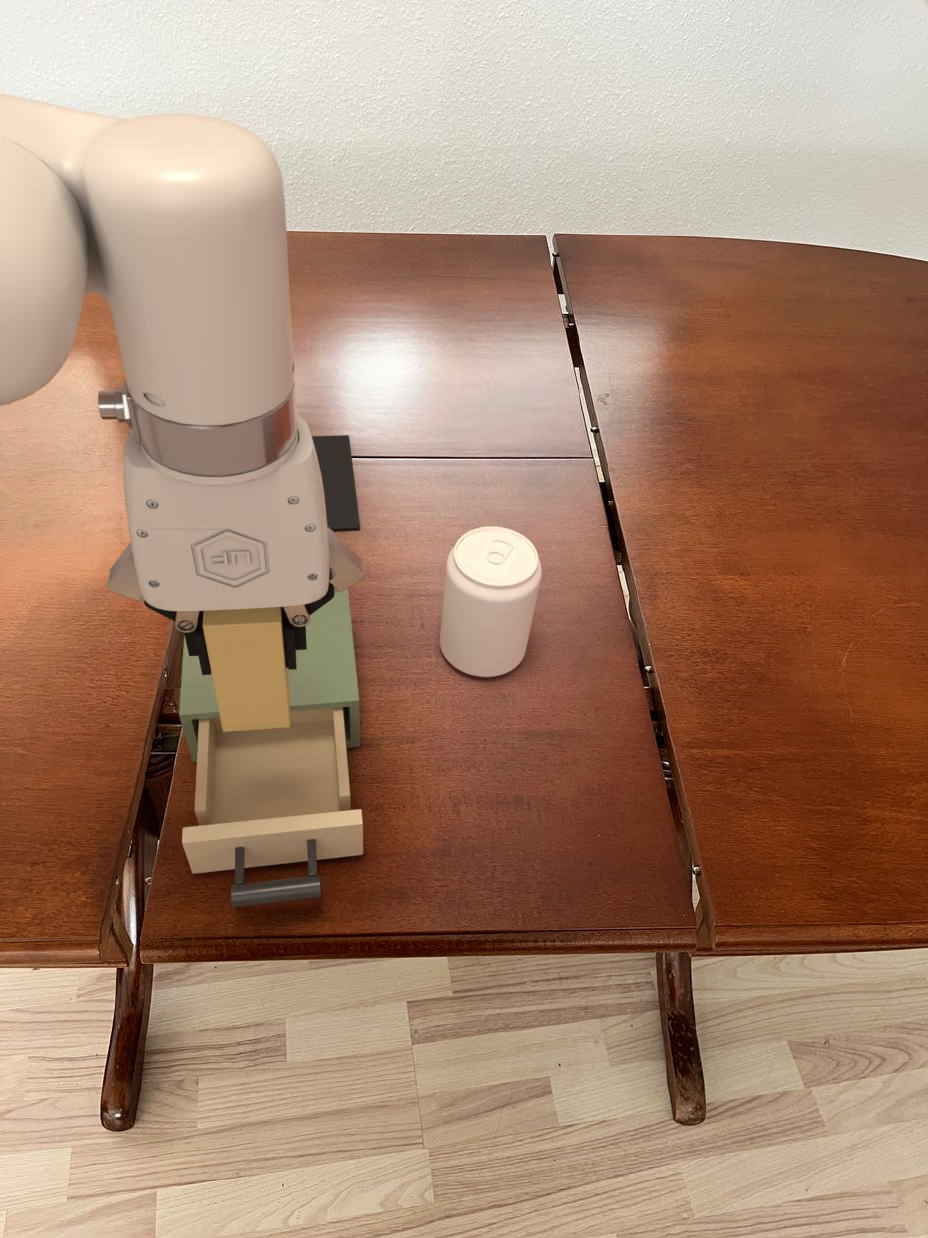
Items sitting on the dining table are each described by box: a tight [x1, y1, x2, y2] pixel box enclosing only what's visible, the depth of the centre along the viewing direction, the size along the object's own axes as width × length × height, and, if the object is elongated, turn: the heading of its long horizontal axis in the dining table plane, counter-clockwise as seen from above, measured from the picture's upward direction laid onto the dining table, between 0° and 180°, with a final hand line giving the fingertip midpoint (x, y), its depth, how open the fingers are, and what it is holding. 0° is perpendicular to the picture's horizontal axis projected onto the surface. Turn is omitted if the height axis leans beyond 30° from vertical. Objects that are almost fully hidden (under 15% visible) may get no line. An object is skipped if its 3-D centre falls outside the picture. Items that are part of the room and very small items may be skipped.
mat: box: [311, 434, 361, 532], centre depth 93 cm, size 20×16×1 cm
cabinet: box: [178, 588, 361, 763], centre depth 73 cm, size 14×14×7 cm
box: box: [203, 607, 290, 732], centre depth 55 cm, size 4×4×11 cm
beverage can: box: [439, 525, 543, 678], centre depth 76 cm, size 8×8×12 cm
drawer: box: [181, 707, 364, 909], centre depth 64 cm, size 17×12×5 cm
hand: (250, 653), depth 54 cm, fingers closed on box, 4 cm apart
